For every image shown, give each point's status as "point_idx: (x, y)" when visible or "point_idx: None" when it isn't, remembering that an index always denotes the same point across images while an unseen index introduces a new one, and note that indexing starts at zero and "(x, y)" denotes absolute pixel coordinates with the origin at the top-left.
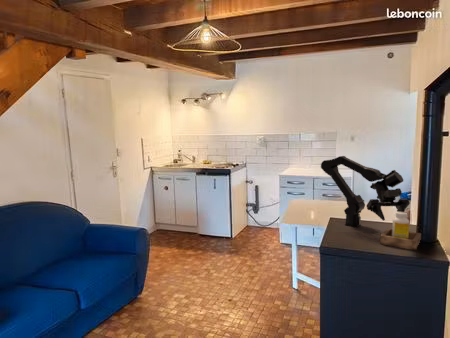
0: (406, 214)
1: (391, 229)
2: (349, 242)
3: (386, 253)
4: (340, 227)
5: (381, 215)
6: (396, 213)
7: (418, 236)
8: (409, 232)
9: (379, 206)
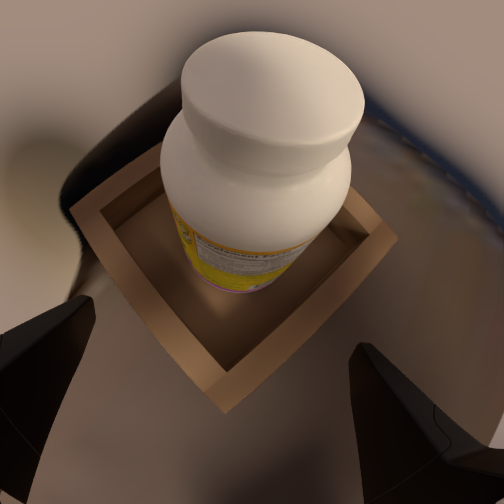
0: (244, 37)
1: (215, 370)
2: (480, 309)
3: (394, 146)
4: None
5: (404, 387)
6: (360, 100)
7: (147, 155)
8: (125, 249)
9: (497, 463)
